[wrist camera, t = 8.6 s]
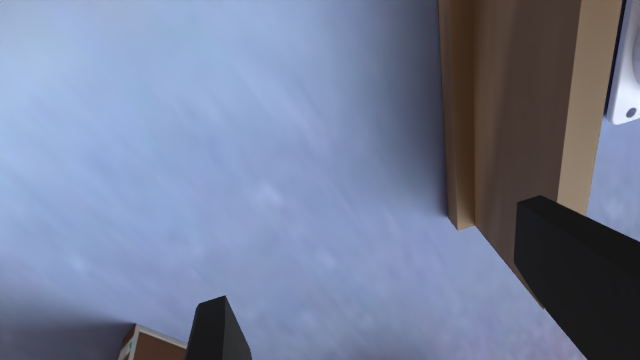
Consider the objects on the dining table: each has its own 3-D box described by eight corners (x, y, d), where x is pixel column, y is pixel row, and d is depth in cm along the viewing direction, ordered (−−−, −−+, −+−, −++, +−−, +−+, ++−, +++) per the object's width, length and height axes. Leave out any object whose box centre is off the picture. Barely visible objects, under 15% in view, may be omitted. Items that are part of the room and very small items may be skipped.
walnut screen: (525, -371, 13) (759, -526, 8) (503, 200, 25) (592, 293, 19) (421, -349, 13) (590, -494, 8) (448, 218, 24) (522, 317, 19)
